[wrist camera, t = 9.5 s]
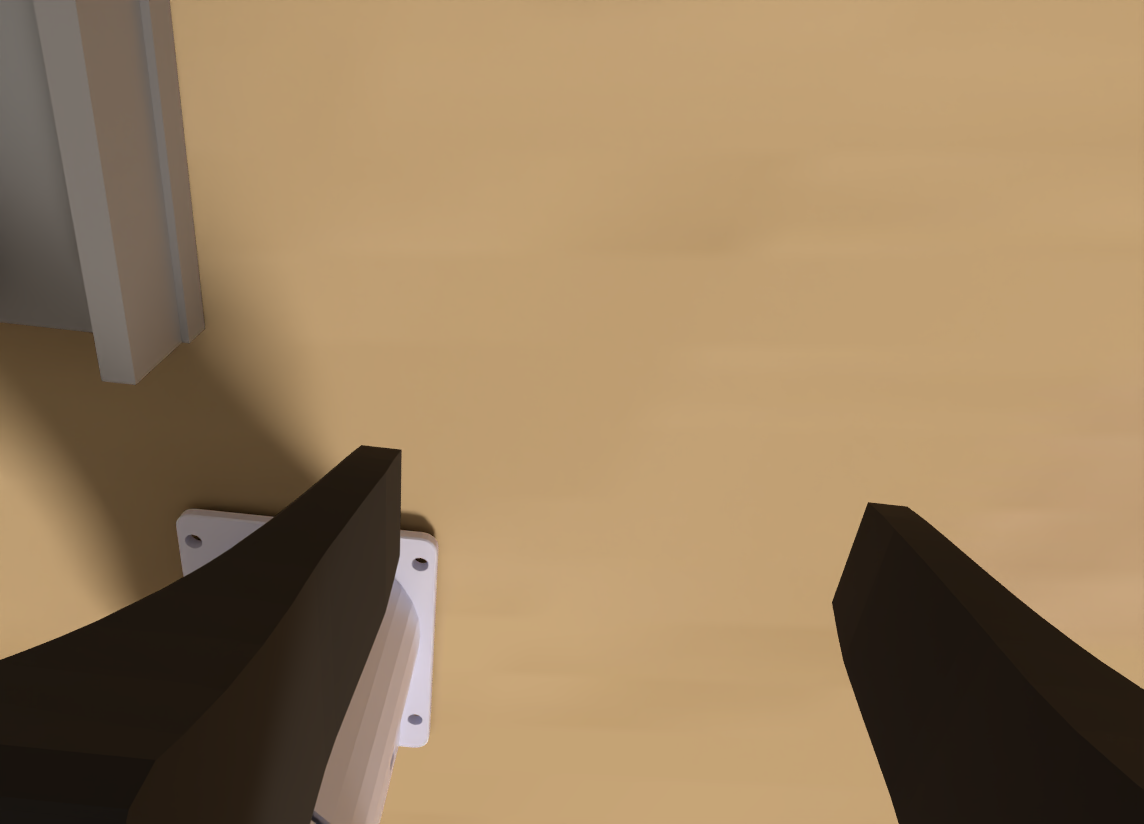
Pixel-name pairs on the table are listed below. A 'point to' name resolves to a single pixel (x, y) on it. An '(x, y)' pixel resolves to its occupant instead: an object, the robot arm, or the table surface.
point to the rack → (96, 180)
